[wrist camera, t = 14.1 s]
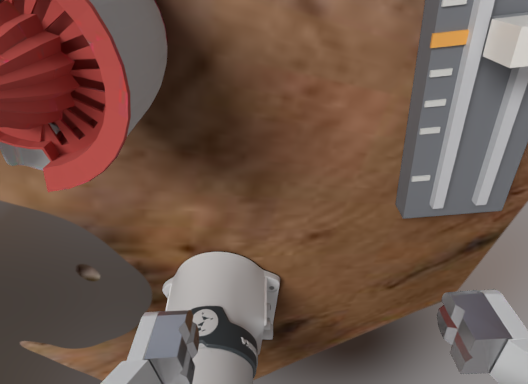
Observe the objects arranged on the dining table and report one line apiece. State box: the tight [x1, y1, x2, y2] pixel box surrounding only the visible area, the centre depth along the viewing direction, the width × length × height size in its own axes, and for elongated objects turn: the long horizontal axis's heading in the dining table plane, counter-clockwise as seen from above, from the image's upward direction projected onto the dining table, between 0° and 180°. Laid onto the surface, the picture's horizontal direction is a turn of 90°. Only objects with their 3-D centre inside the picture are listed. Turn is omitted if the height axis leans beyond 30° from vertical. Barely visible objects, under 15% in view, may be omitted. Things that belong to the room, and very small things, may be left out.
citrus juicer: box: [0, 0, 168, 192], centre depth 25 cm, size 16×17×20 cm
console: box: [396, 0, 528, 219], centre depth 34 cm, size 30×12×4 cm, turn 6°
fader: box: [482, 12, 528, 68], centre depth 28 cm, size 3×4×5 cm
